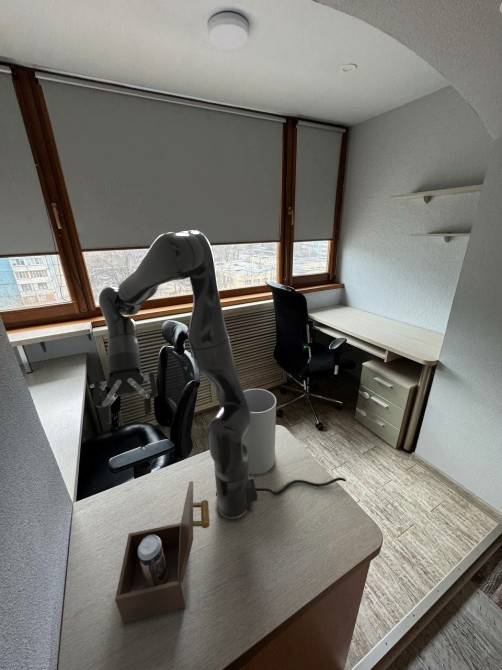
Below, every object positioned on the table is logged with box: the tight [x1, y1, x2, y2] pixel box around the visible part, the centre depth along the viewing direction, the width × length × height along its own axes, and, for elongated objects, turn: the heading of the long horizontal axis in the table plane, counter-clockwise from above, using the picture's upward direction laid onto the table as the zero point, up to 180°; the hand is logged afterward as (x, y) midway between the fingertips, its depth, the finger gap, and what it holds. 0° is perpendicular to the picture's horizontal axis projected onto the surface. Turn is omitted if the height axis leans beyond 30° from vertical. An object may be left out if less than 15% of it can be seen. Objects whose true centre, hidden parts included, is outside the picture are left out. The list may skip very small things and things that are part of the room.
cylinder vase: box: [242, 388, 277, 475], centre depth 88 cm, size 12×12×25 cm
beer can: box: [138, 535, 168, 588], centre depth 59 cm, size 5×5×12 cm
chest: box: [114, 522, 187, 624], centre depth 60 cm, size 12×12×9 cm
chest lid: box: [179, 481, 210, 583], centre depth 58 cm, size 13×12×4 cm
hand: (128, 419), depth 64 cm, fingers open, 8 cm apart
